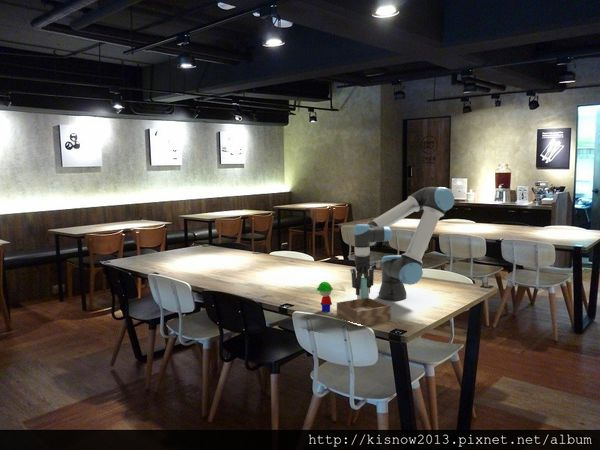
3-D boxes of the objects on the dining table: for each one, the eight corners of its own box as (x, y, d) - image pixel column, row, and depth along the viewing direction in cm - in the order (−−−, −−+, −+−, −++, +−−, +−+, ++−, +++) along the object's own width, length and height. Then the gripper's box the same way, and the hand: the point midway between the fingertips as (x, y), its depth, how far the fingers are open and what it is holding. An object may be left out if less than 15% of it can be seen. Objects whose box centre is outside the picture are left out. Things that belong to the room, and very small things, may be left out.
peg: (364, 304, 253) (363, 277, 251) (368, 305, 249) (368, 278, 248) (357, 305, 251) (357, 278, 249) (362, 307, 247) (361, 279, 246)
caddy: (367, 311, 244) (367, 297, 244) (390, 320, 228) (390, 306, 228) (336, 316, 236) (336, 302, 235) (358, 327, 220) (358, 311, 219)
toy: (314, 312, 245) (313, 282, 243) (323, 308, 251) (322, 279, 250) (327, 314, 240) (326, 284, 239) (336, 310, 246) (335, 281, 245)
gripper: (371, 252, 254) (372, 296, 257) (343, 255, 247) (344, 301, 249) (380, 254, 248) (381, 299, 250) (352, 258, 240) (353, 305, 243)
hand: (363, 300), depth 250 cm, fingers closed on peg, 4 cm apart
